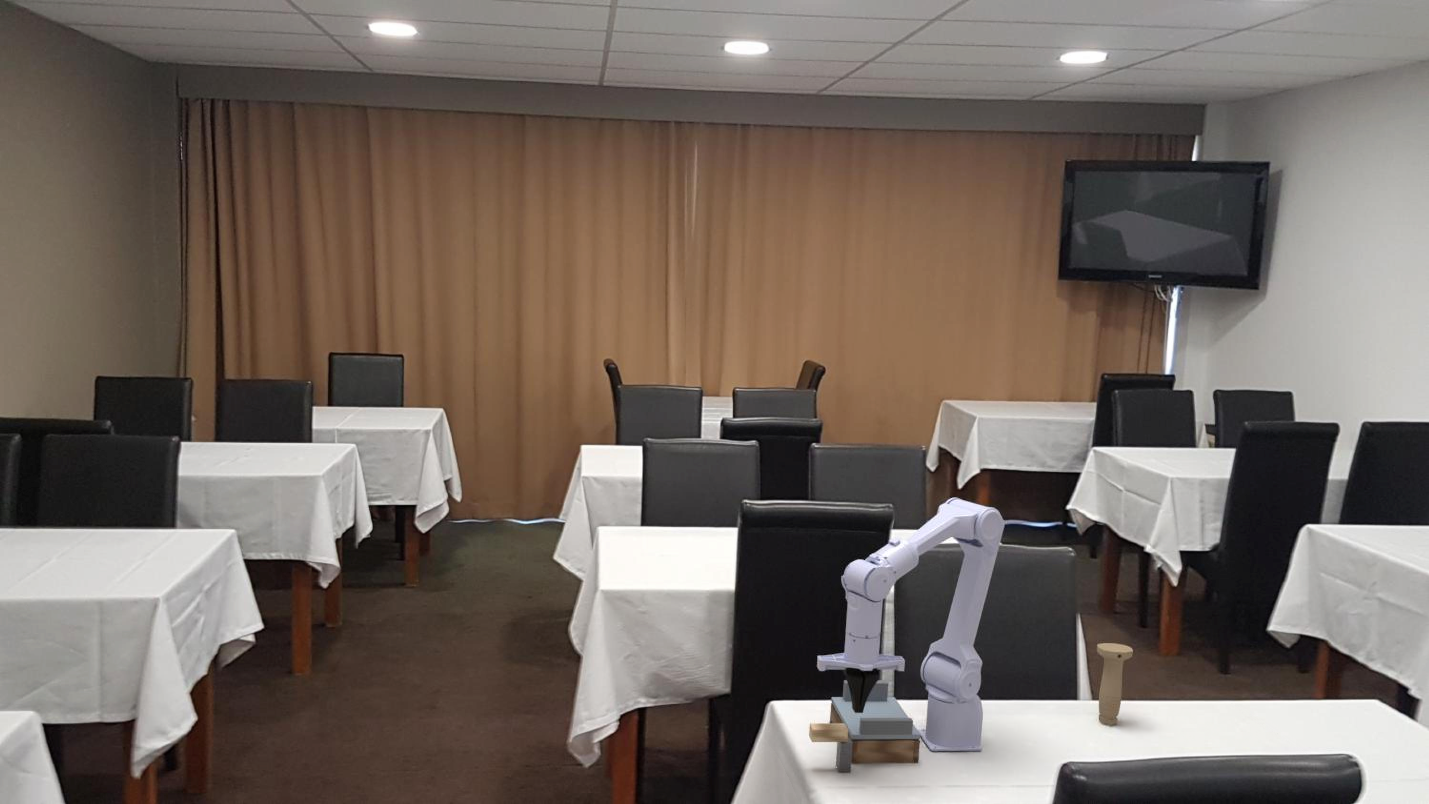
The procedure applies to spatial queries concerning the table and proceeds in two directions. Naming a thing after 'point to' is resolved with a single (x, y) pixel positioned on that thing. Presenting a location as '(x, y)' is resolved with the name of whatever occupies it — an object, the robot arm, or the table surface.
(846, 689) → the lid
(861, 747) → the brown wooden shallow box
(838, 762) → the block
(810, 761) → the table surface
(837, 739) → the tan wooden block
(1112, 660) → the handle
